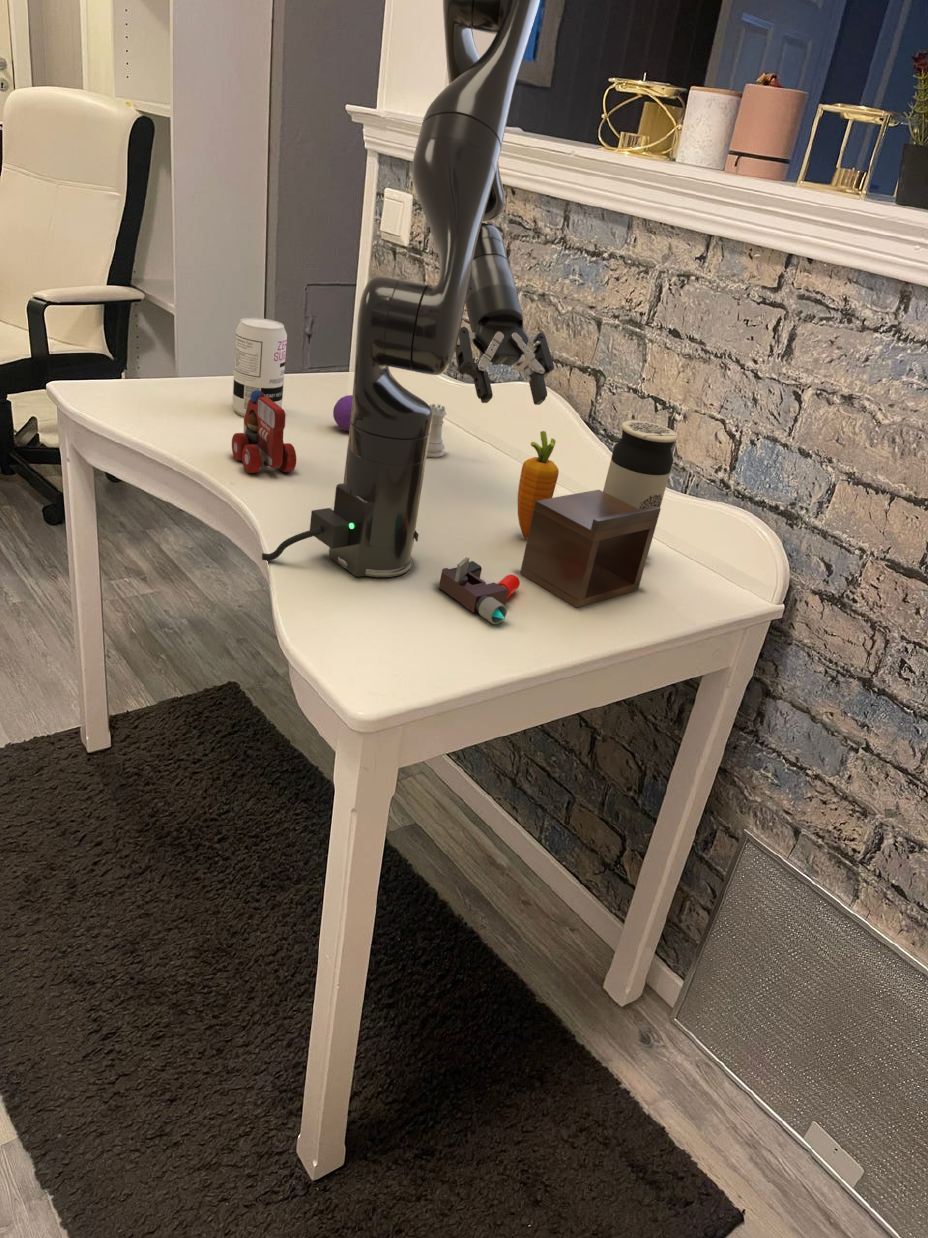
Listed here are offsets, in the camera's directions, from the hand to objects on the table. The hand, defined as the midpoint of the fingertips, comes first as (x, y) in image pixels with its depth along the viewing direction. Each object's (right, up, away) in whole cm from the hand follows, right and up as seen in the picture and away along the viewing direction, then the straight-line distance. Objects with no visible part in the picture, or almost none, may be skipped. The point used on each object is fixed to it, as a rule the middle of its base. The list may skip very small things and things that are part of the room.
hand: (514, 401), depth 130 cm
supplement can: (-42, +5, +29) cm, 52 cm away
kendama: (-21, +3, +34) cm, 40 cm away
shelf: (+8, -25, -10) cm, 28 cm away
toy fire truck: (-37, -8, +8) cm, 38 cm away
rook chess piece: (-13, -3, +26) cm, 29 cm away
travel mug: (+14, -21, +1) cm, 26 cm away
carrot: (+2, -19, 0) cm, 19 cm away
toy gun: (-4, -28, -19) cm, 34 cm away
